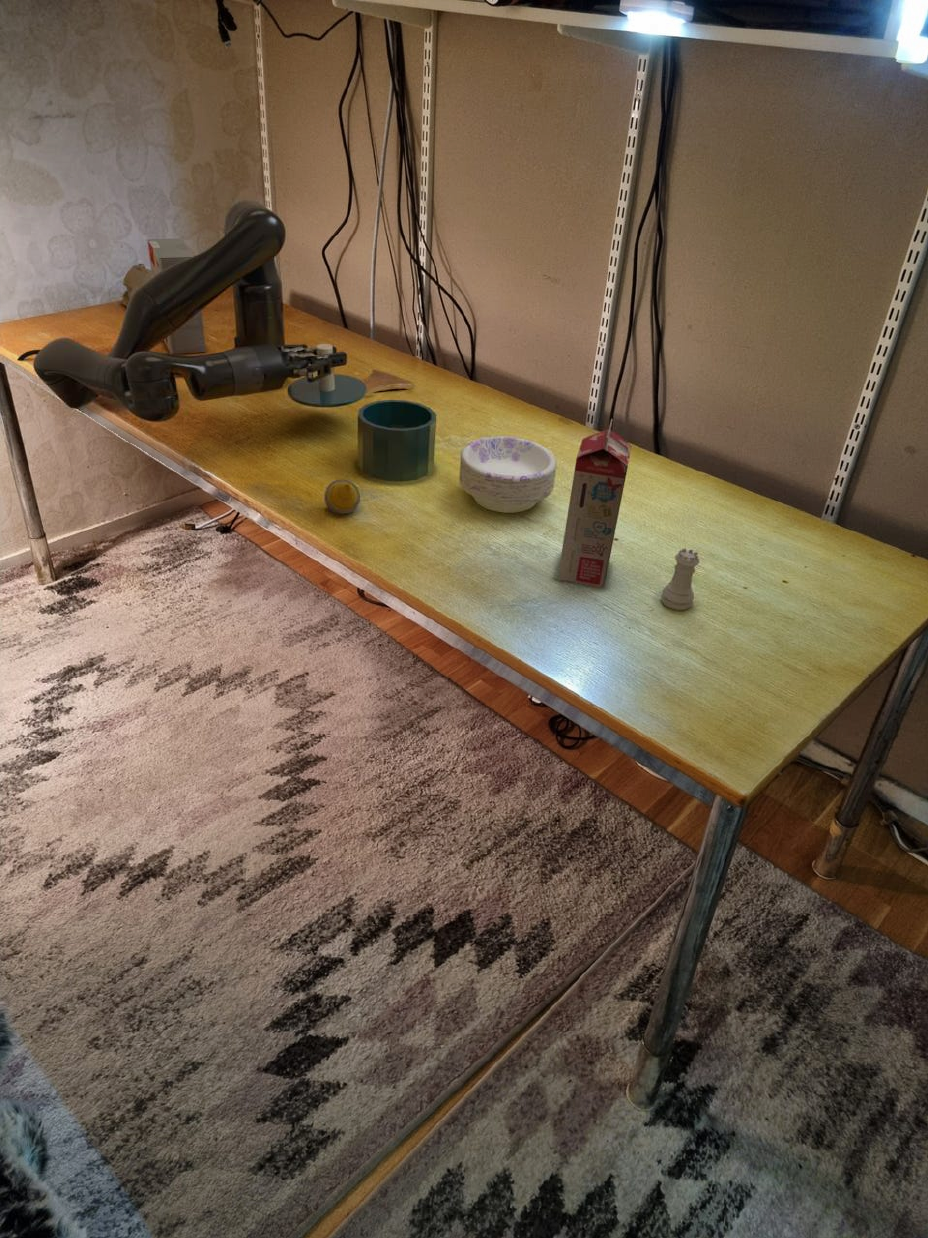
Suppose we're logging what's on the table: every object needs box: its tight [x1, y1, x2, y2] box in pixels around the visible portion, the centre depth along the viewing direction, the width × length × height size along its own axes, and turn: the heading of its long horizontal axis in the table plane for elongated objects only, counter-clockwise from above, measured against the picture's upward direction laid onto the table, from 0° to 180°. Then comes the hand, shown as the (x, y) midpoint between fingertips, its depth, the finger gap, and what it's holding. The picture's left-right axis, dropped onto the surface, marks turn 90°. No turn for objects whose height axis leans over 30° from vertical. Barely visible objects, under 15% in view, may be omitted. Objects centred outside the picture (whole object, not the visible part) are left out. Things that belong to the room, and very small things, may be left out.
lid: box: [286, 343, 367, 408], centre depth 153 cm, size 14×14×9 cm
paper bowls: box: [458, 436, 558, 514], centre depth 139 cm, size 15×15×8 cm
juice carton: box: [556, 418, 632, 589], centre depth 119 cm, size 7×7×22 cm
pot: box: [357, 399, 437, 483], centre depth 146 cm, size 13×13×10 cm
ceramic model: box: [121, 263, 152, 307], centre depth 208 cm, size 14×11×10 cm
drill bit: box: [323, 478, 361, 516], centre depth 132 cm, size 5×5×10 cm
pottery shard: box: [364, 369, 412, 395], centre depth 177 cm, size 10×9×2 cm
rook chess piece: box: [660, 547, 700, 611], centre depth 118 cm, size 4×4×8 cm
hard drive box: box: [146, 238, 206, 355], centre depth 186 cm, size 16×8×20 cm, turn 25°
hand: (340, 355), depth 153 cm, fingers closed on lid, 3 cm apart
